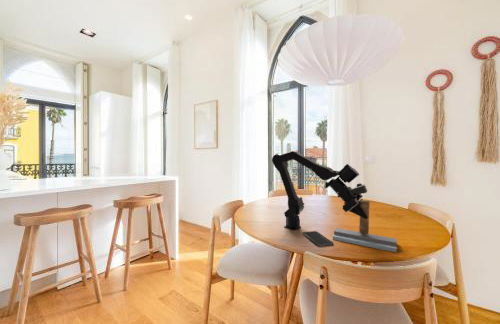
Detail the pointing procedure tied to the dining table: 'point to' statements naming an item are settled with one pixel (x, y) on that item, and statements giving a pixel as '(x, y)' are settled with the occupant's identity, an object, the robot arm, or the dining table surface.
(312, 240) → the phone
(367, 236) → the stand
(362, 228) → the walnut dowel
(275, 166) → the robot arm
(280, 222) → the dining table surface
